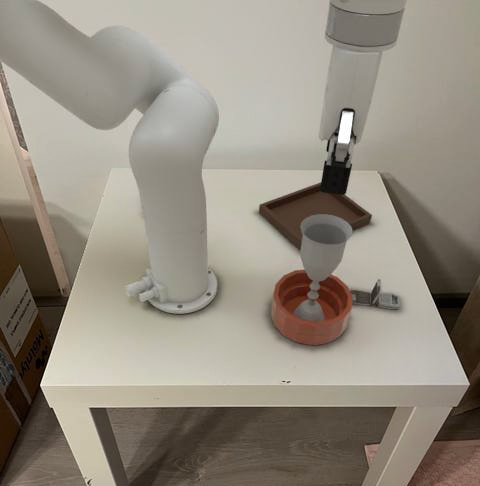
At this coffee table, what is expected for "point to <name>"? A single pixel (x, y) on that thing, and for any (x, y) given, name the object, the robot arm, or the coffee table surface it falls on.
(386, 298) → the strap clip
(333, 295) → the bowl
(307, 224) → the chalice
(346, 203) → the tray
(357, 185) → the coffee table surface
